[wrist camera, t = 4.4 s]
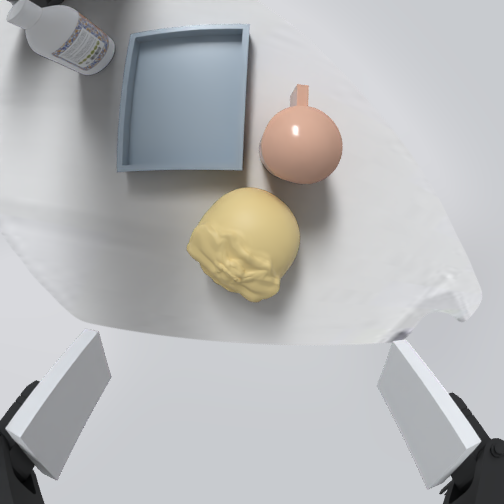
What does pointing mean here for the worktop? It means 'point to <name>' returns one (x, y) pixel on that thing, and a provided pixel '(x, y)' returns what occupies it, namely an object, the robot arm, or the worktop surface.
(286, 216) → the sculpture
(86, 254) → the worktop surface
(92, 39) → the bath foam
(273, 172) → the peach tabbed round part
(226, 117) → the tray
